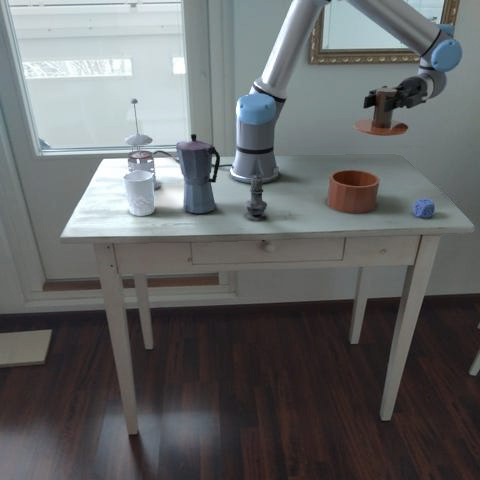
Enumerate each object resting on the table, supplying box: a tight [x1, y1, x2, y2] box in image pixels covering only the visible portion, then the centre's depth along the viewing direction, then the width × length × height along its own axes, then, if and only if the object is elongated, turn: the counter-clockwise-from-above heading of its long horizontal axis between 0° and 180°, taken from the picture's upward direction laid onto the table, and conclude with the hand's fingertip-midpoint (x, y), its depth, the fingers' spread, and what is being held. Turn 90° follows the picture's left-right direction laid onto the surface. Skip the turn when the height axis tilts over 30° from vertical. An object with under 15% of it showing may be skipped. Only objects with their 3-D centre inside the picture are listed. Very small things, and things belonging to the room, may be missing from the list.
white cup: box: [122, 171, 156, 217], centre depth 131 cm, size 8×8×10 cm
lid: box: [353, 87, 409, 137], centre depth 129 cm, size 15×15×10 cm
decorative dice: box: [413, 198, 436, 219], centre depth 131 cm, size 4×4×4 cm
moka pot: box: [175, 133, 221, 214], centre depth 129 cm, size 10×15×20 cm, turn 54°
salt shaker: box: [245, 174, 268, 222], centre depth 128 cm, size 6×6×12 cm
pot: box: [326, 169, 381, 214], centre depth 136 cm, size 14×14×8 cm
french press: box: [124, 98, 161, 191], centre depth 142 cm, size 10×12×25 cm
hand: (375, 104), depth 125 cm, fingers closed on lid, 5 cm apart
